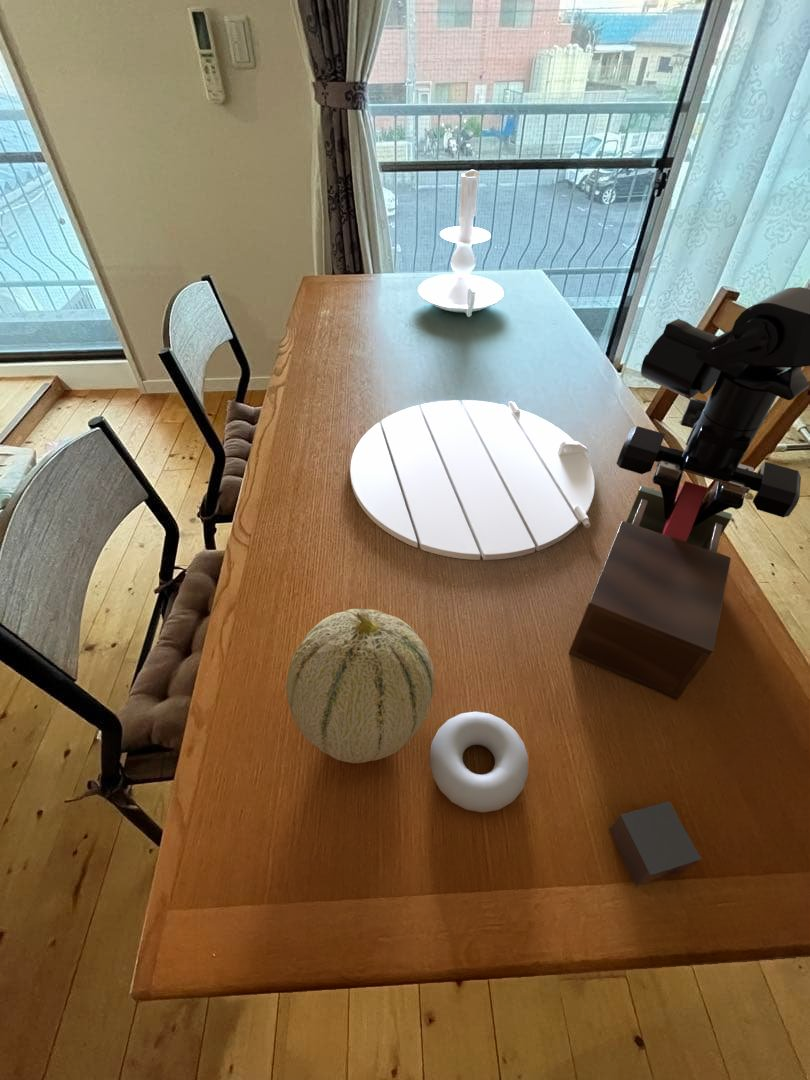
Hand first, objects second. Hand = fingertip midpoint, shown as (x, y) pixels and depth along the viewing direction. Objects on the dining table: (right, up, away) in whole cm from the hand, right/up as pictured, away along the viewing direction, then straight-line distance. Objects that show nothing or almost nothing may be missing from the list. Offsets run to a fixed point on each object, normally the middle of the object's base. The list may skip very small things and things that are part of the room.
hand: (678, 521), depth 70 cm
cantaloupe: (-39, -22, -9) cm, 46 cm away
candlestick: (-21, +54, +64) cm, 86 cm away
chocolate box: (-1, -2, -1) cm, 3 cm away
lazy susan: (-23, +9, +21) cm, 33 cm away
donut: (-27, -26, -13) cm, 40 cm away
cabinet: (-6, -14, -1) cm, 15 cm away
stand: (-12, -31, -18) cm, 38 cm away
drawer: (0, -6, +6) cm, 8 cm away
